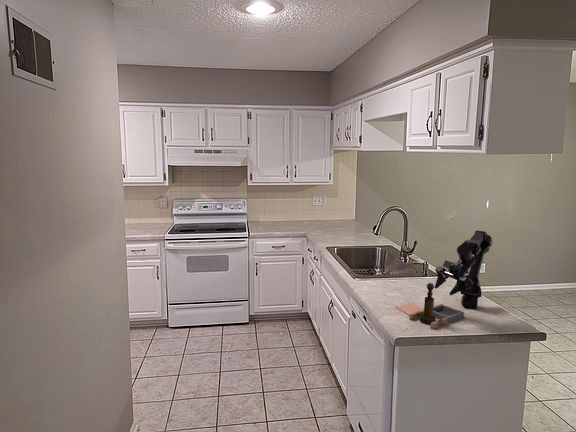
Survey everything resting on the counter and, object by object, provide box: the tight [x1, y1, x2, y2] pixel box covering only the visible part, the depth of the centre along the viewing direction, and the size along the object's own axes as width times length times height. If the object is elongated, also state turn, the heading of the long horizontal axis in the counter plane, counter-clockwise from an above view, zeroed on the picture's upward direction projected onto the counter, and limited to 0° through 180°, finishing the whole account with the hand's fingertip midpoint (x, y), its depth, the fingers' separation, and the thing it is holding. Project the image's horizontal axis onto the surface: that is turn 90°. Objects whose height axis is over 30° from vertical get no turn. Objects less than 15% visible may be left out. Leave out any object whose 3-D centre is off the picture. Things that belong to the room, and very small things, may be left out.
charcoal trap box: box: [433, 303, 465, 324], centre depth 194 cm, size 12×12×2 cm
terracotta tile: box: [394, 302, 424, 316], centre depth 200 cm, size 11×11×1 cm
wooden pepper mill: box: [419, 282, 437, 325], centre depth 185 cm, size 7×6×18 cm
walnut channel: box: [408, 310, 449, 330], centre depth 187 cm, size 11×12×2 cm
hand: (442, 291), depth 187 cm, fingers open, 9 cm apart
